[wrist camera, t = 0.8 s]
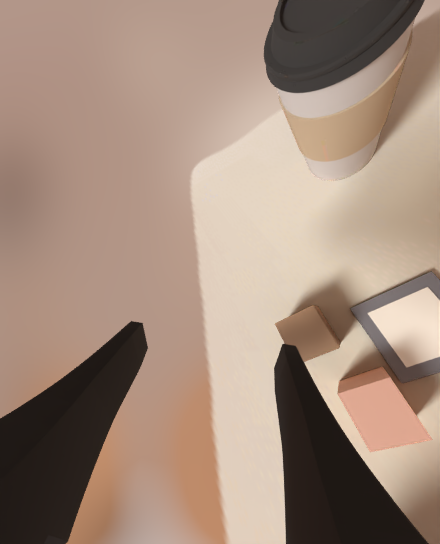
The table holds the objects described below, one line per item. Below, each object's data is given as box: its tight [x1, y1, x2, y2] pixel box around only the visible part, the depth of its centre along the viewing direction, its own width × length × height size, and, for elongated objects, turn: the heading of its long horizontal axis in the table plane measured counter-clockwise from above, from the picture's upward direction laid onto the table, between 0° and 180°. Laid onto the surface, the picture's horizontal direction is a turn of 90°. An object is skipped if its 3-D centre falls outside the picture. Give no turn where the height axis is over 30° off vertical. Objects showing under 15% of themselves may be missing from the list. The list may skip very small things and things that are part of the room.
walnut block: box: [275, 305, 340, 362], centre depth 21 cm, size 4×4×4 cm
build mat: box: [350, 271, 440, 383], centre depth 18 cm, size 7×7×1 cm
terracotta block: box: [338, 367, 432, 452], centre depth 17 cm, size 4×4×4 cm
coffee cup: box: [264, 0, 424, 181], centre depth 18 cm, size 9×9×15 cm
